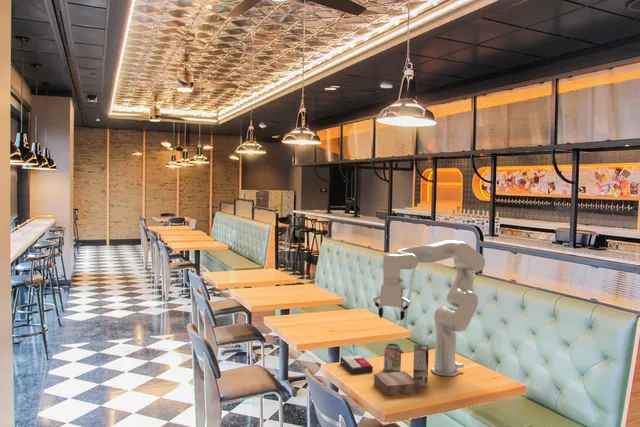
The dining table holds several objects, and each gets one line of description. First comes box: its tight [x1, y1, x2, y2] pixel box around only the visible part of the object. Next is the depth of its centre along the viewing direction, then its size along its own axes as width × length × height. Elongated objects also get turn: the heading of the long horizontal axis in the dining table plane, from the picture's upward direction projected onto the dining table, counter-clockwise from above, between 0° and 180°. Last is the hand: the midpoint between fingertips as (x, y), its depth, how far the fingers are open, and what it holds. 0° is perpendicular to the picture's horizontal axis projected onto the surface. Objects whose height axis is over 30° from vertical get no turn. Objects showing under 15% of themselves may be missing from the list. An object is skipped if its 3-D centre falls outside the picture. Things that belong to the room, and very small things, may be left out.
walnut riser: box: [373, 370, 420, 398], centre depth 212 cm, size 15×14×5 cm
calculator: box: [339, 354, 374, 375], centre depth 236 cm, size 11×4×15 cm
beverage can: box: [383, 342, 404, 373], centre depth 235 cm, size 9×8×12 cm
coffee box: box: [412, 344, 430, 387], centre depth 219 cm, size 9×6×16 cm
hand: (391, 318), depth 219 cm, fingers open, 9 cm apart
